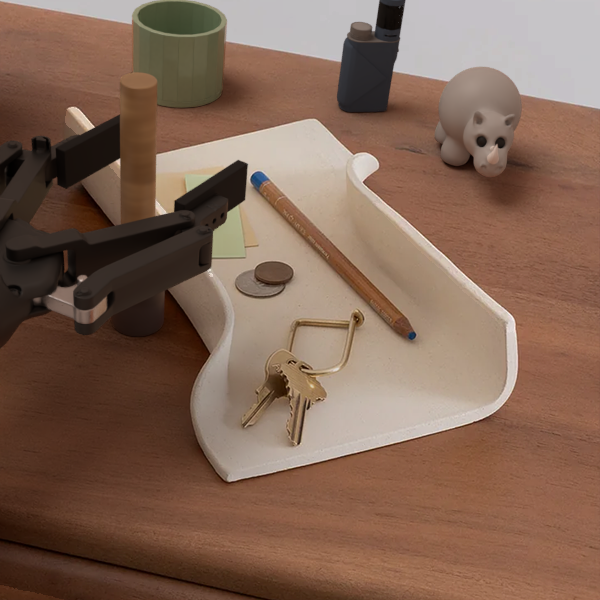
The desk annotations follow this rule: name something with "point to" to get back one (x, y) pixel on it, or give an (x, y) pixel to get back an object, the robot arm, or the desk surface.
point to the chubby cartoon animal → (478, 119)
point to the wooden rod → (138, 185)
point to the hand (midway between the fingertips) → (183, 155)
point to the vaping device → (370, 60)
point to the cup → (180, 50)
